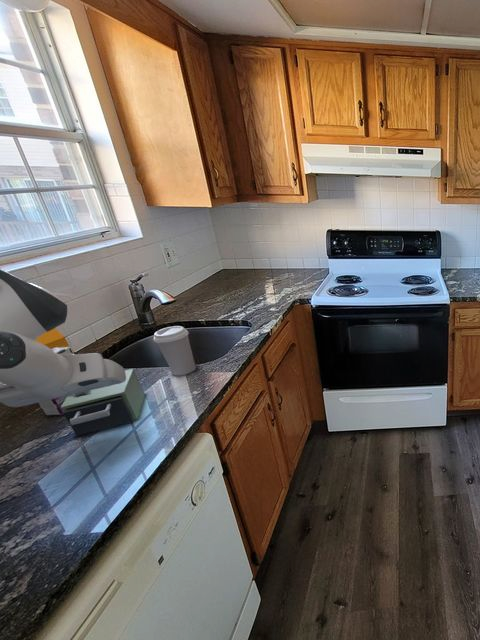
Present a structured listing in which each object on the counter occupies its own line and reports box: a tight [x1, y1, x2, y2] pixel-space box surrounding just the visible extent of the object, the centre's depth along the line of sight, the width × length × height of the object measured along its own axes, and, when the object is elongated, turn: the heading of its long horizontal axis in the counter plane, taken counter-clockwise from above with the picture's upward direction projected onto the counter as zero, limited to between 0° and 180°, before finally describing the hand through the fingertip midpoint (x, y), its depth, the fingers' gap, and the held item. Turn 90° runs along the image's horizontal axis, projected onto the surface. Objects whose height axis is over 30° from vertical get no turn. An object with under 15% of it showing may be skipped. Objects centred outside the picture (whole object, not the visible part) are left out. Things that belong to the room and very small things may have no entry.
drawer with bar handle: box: [63, 395, 133, 437], centre depth 97 cm, size 18×11×7 cm, turn 31°
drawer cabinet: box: [60, 368, 146, 427], centre depth 101 cm, size 15×13×9 cm
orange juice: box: [35, 328, 75, 354], centre depth 116 cm, size 8×9×20 cm
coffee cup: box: [152, 325, 197, 376], centre depth 121 cm, size 10×10×15 cm
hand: (83, 393), depth 89 cm, fingers closed
